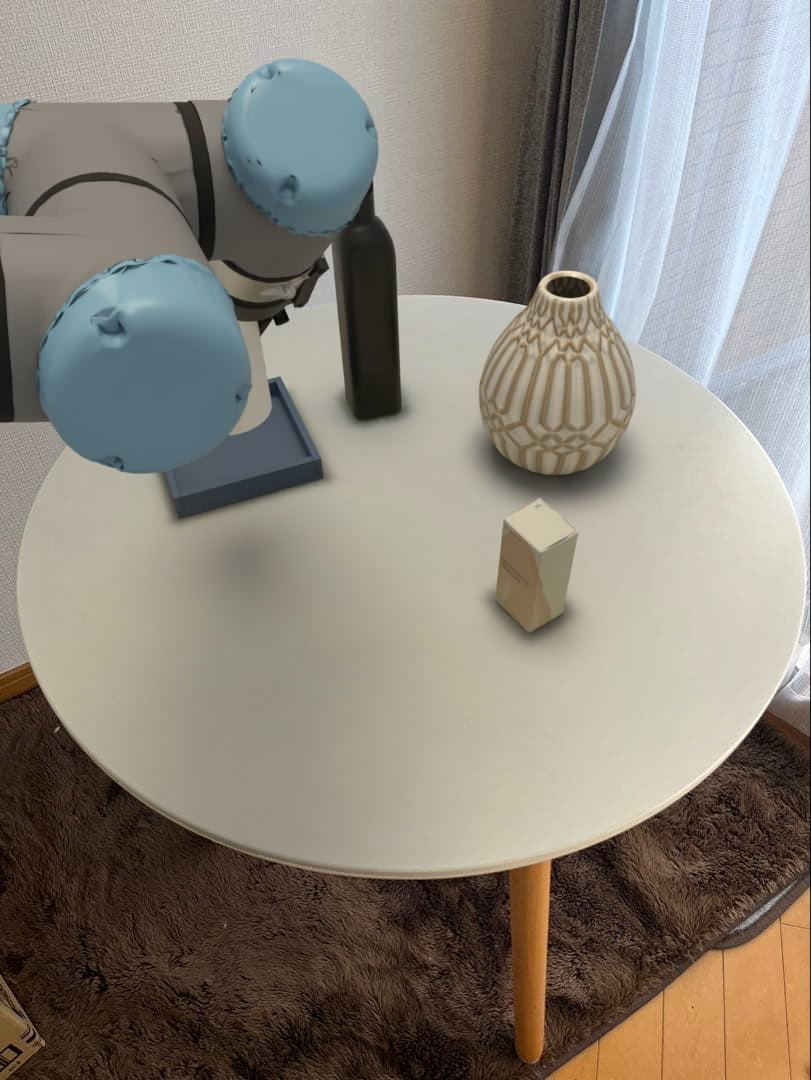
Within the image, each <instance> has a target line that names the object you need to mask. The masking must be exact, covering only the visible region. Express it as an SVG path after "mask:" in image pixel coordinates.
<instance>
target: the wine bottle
mask: <svg viewBox="0 0 811 1080" xmlns="http://www.w3.org/2000/svg"><path fill="white" fill-rule="evenodd" d="M374 188H375V187H374V179H373V180H372V182H371V184H370V188H369V189H368V191H367V193H366V195H365V197H364V199H363V200H362V202H361V205H360V208H359V211H358V212H357V213H356V216H355V218H354V219H353V221H352V222H350V223H349V224H348V225H347V226H346V227H345V228H343V229H342V230H341V232H340V233H339V234H338V235H337V237H336V238H335V239H334V241H333V242H332V243H331V257H332V267H333V276H334V277H333V278H334V289H335V297H336V309H337V319H338V330H339V341H340V351H341V361H342V362H341V363H342V371H343V372H342V373H343V383H344V392H345V395H344V396H345V399H346V401H347V404H348V406H349V408H350V410H351V412H352V414H353V416H354V418H356V419H357V420H360V421H369V420H371V419H376V418H380V417H381V418H382V417H385V416H389V415H394V414H396V413H400V411H401V410H402V407H403V406H402V381H401V357H400V352H401V351H400V329H399V303H398V278H397V277H398V275H397V256H396V248H395V244H394V243H395V242H394V240H393V238H392V235H391V234H390V232H389V229H388V228H387V227H386V225H385V223H384V221H383V220H382V219H381V218H380V217H379V216H378V215H376V207H375V205H376V204H375V191H374V190H375V189H374Z"/></svg>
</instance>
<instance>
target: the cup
mask: <svg viewBox="0 0 811 1080" xmlns="http://www.w3.org/2000/svg"><path fill="white" fill-rule="evenodd" d="M238 324H239V327H240V330H241V332H242V335H243V338H244V341H245V344H246V347H247V350H248V354H249V358H250V363H251V381H252V388H251V390H250V392H249V395H248V401H247V404H246V407H245V410H244V412H243V414H242V416H241V418H240V420H239V421H238V423H237V424H236V426H235V427H234V429H233V430H232V431H231V433H230V434H229V435H236V434H240V433H244V432H247V431H249V430H251V429H253V428H255V427H257V426H258V425H260V424H261V423H262V422H264V421H265V420H266V418H267V417H268V416H269V414H270V412H271V408H272V403H271V397H270V391H269V385H268V379H269V378H268V375H267V370H266V369H267V368H266V362H265V356H264V351H263V344H262V339H261V337H260V333H259V327H258V321H253V322H244V321H238ZM229 435H228V436H229Z"/></svg>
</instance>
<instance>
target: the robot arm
mask: <svg viewBox="0 0 811 1080" xmlns="http://www.w3.org/2000/svg"><path fill="white" fill-rule="evenodd" d="M230 95H231V97H230V98H228V99H189V100H187V101H169V102H168V101H154V102H153V101H151V102H149V101H148V102H147V101H143V102H142V101H141V102H140V101H137V102H135V101H134V102H133V101H128V102H127V101H126V102H125V101H123V102H122V101H121V102H112V101H111V102H109V101H108V102H103V101H102V102H101V101H100V102H99V101H98V102H38V101H37V100H33V99H29V98H28V99H27V98H21V99H18V100H17V101H15V102H10V103H0V424H6V423H7V424H9V423H19V424H21V423H23V424H24V423H25V424H26V423H29V424H30V423H31V424H33V423H50V425H51V426H52V427H53V428H54V430H55V432H56V433H57V434H58V436H59V438H60V439H61V440H62V441H63V442H64V443H65V444H66V446H67V447H68V448H69V449H71V450H72V451H73V452H74V453H76V454H77V455H79V456H80V457H82V458H83V459H85V460H88V461H89V462H91V463H96V464H99V465H102V466H105V467H108V468H112V469H115V470H117V471H118V472H120V473H125V474H133V475H136V474H138V475H139V474H140V475H148V474H158V473H165V472H164V471H169V470H172V469H175V468H178V467H181V466H184V465H186V464H188V463H190V462H193V461H195V460H197V459H199V458H201V457H203V456H205V455H206V454H208V453H209V452H210V451H212V450H213V449H215V448H216V447H217V446H218V445H219V444H220V443H221V442H222V441H223V440H224V439H225V438H226V437H227V436H228V435H229V434H230V433H231V431H232V430H233V429H234V427H235V426H236V424H237V423H238V421H239V420H240V418H241V416H242V414H243V412H244V410H245V407H246V404H247V401H248V395H249V392H250V390H251V388H252V381H251V363H250V358H249V354H248V350H247V347H246V344H245V341H244V338H243V335H242V332H241V330H240V327H239V324H238V321H244V322H253V321H258V327H259V333H260V338H261V337H262V335H263V334H264V333H265V331H266V330H267V328H268V327H269V326H270V324H271V323H272V322H274V324H275V326H276V327H279V326H283V325H285V324H287V323H289V322H290V321H291V319H290V318H289V315H288V312H287V310H286V307H287V306H290V305H292V306H293V308H294V309H300V308H301V309H302V308H304V307H305V306H306V305H307V304H308V303H309V300H310V298H311V297H312V294H313V292H314V290H315V288H316V285H317V283H318V282H319V281H318V280H319V279H320V278H321V277H322V276H323V275H324V274H325V273H326V272H328V271H329V270H330V266H329V264H328V261H327V258H326V256H325V252H326V251H327V250H328V249H329V247H330V246H331V245H332V242H333V241H334V239H335V238H336V237H337V235H338V234H339V233H340V232H341V230H342V229H343V228H345V227H346V226H347V225H348V224H349V223H350V222H352V221H353V219H354V218H355V216H356V213H357V212H358V211H359V208H360V205H361V202H362V200H363V199H364V197H365V195H366V193H367V191H368V189H369V188H370V184H371V182H372V180H373V181H374V177H375V174H376V171H377V166H378V160H379V138H378V137H379V136H378V131H377V128H376V125H375V121H374V118H373V116H372V114H371V112H370V111H371V110H369V107H368V105H367V104H366V102H365V101H364V99H363V98H362V96H361V95H360V94H359V92H358V91H357V90H356V89H355V87H354V86H353V85H352V84H351V83H350V82H349V81H348V80H347V79H345V78H344V77H343V76H341V75H340V74H339V73H338V72H336V71H335V70H333V69H331V68H329V67H327V66H326V65H323V64H320V63H318V62H315V61H311V60H308V59H302V58H295V57H294V58H291V57H290V58H289V57H288V58H279V59H274V60H273V61H271V62H268V63H266V64H264V65H261V66H259V67H257V68H256V69H255V70H253V71H252V72H250V73H249V74H248V75H246V76H245V77H244V79H243V80H242V81H241V82H240V83H239V85H238V87H236V88H235V89H234V90H233V91H232V92H231V94H230Z"/></svg>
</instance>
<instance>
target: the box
mask: <svg viewBox="0 0 811 1080" xmlns="http://www.w3.org/2000/svg"><path fill="white" fill-rule="evenodd" d="M502 521H503V523H502V530H501V531H502V533H501V542H500V551H499V560H498V569H497V580H496V587H495V588H496V590H495V599H494V600H495V601H496V602H497V603H498V604H499V605H500V606H501V607H502V608H503V610H505V611H506V612H507V613H508V614H509V615H510V616H511V617H512V619H514V620H515V622H516V623H518V625H520V626H521V628H523V630H525V631H526V632H527V633H532V632H533V631H535V630H537V629H539V628H540V627H542V626H544V625H546V624H547V623H549V622H551V621H552V620H554V619H555V618H557V617H559V616H560V615H562V614H564V609H565V603H566V598H567V594H568V588H569V582H570V577H571V573H572V567H573V561H574V556H575V551H576V548H577V547H576V546H577V542H578V536H579V530H578V528H577V527H576V526H574V525H573V524H572V523H571V522H570V521H568V520H567V519H566V518H565V517H564V516H562V515H561V514H560V513H559V512H558V511H557V510H555V509H554V508H553V507H552V506H551V505H550V504H548V503H547V502H546V501H544V499H543V498H540V497H538V498H537V499H535V500H533V501H531V502H529V503H528V504H525V505H524V506H522V507H520V508H518V509H517V510H514V511H513V512H511V513H510V514H508V515H506V516H504V517H503V520H502Z"/></svg>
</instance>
